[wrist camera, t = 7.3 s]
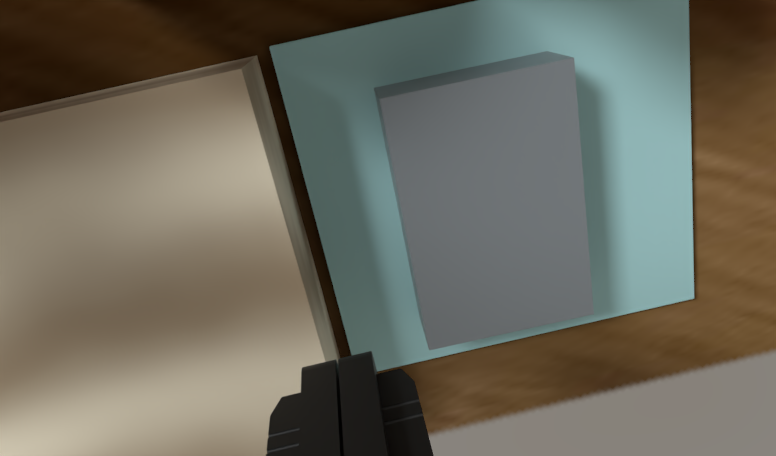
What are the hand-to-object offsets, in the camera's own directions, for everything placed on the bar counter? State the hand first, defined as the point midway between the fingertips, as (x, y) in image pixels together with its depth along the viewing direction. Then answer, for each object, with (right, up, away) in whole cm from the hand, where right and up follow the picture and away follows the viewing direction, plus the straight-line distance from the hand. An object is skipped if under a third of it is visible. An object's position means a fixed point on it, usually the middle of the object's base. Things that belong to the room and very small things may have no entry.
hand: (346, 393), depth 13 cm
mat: (+5, +5, +10) cm, 12 cm away
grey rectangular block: (+4, +4, +8) cm, 10 cm away
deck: (-8, +2, +10) cm, 13 cm away
